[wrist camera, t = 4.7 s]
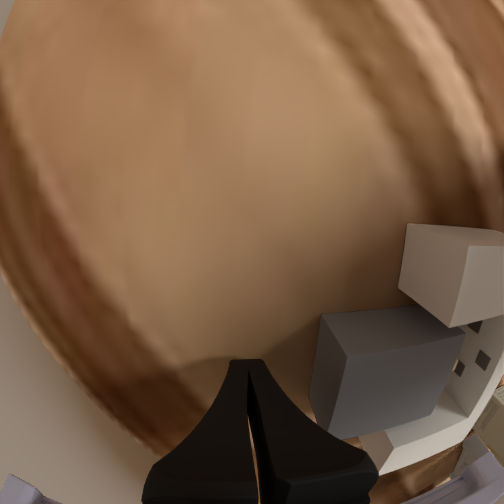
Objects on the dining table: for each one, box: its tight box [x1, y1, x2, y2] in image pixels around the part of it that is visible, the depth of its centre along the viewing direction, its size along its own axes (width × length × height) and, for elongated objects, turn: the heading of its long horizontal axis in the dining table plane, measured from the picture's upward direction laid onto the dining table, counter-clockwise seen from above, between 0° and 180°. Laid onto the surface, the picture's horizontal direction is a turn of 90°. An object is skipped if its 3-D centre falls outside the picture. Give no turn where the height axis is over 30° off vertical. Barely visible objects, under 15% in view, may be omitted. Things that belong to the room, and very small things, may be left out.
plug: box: [308, 304, 466, 440], centre depth 11 cm, size 7×5×4 cm
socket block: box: [358, 223, 504, 475], centre depth 11 cm, size 7×13×4 cm, turn 179°
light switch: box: [449, 433, 489, 480], centre depth 16 cm, size 2×12×8 cm, turn 22°
